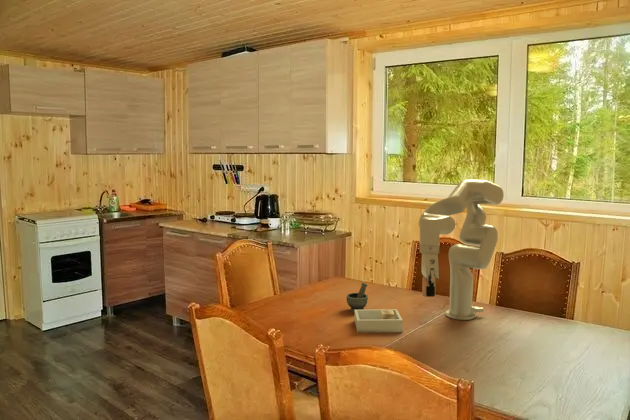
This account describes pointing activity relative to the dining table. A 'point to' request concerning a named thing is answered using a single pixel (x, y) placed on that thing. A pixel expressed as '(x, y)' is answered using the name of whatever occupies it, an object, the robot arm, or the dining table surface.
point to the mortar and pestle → (358, 299)
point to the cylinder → (424, 284)
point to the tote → (377, 321)
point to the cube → (387, 314)
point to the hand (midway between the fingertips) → (428, 293)
